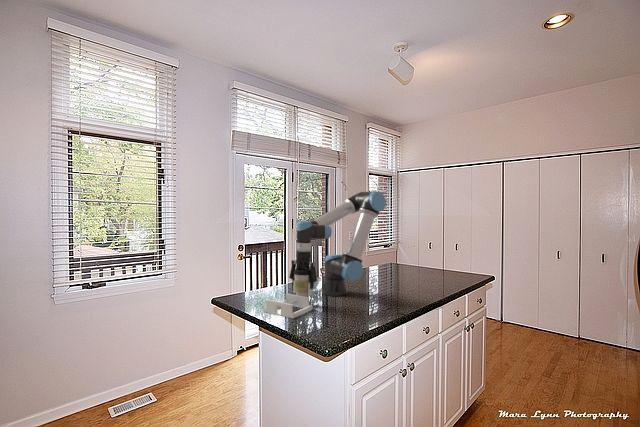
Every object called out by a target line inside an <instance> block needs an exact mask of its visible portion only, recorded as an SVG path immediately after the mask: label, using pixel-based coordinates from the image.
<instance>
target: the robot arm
mask: <svg viewBox="0 0 640 427" xmlns="http://www.w3.org/2000/svg"><path fill="white" fill-rule="evenodd" d="M386 206H387V199H386V197H385V195H384V194H383V192H381V191H378V190H377V191H376V190H372V191H360V192H357V193H356V194H354V195H352V196H350V197H348V198H346V199H345V200H344V202H343V203H341V204H340V205H337V206H336V207H334V208H333V209H330V210H329V211H327V212H325V213H324V214H322V215H320V216H319V217H317V218H315V219H313V220H311V221H309V220H307V221H305V220H299V221H298V222H296V223H297V224H296V253H295V254H296V255H295V257H296V259H294V260H291V267H290V272H289V279H290V280H292V289H293V290H292V292H293V293H294V294H296V289H295V275H294V271H295V269H297V270H301V268H303V269H305V271H309V270H310V269H311V275H309V277H308V279H309V281H310V282H309V283H308V296H312V295H313V289H314V283H316V282H317V281H318V279H317V278H318V276H317V271H316V262H315V261H311V254H312V253H311V252H312V251H311V250H312V240H325V239H330V238H331V236H332V231H333V230H332V228H331V225H333V224H335V223H337V222H338V221H340V220H341V219H344V218H345V217H347V216H348V215H350V214H351V215H353V214H355V213H357V212H359V216H358V220H357V222H356V225H355V227H354V230H353V232H352V236H351V239H350V242H349V244H348V248H347V250H346V252H343V254H332V255H331V254H329V255H326V256H325V260H324V263H325V264H324V266H325V268H324V270H325V271H324V282H323V286H322V288H321V293H322V295H325V296H330V297H343V296H346V295H347V294H348V288H347V285H346V282H345V281H348V282H355V281H357V280H359V279H360V278H361V277H362V275H363V272H364V266H363V264H362V263H363V259H362V254H363V252H364V249H365V247H366V244H367V240H368V238H369V235H370V231H371V229H372V226H373V223H374V221H375V219H376V218H377V217H379V215H380V212H382V211H384V210H385V208H386ZM345 294H346V295H345ZM342 295H343V296H342Z"/></svg>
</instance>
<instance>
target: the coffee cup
mask: <svg viewBox="0 0 640 427" xmlns="http://www.w3.org/2000/svg"><path fill="white" fill-rule="evenodd" d="M294 275H295V289H296V293H295V295H298V296H303V297H309V296H308V283H309V282H310V281H309V279H308V277H309V275H311V268H310V270H309V271H305V269H303V268H301V270H297V269H296V268H295V271H294ZM309 298H310V297H309Z"/></svg>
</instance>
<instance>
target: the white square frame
mask: <svg viewBox="0 0 640 427" xmlns="http://www.w3.org/2000/svg"><path fill="white" fill-rule="evenodd" d="M279 307H281V309H280V316H281V317H285V318H289V319H296V318H298V317H300V316H302V315H304V314H306V313H309V312H310V311H312V310H314V305H312V304H309V306H308V307H306V308H300V309H299V310H297V311H293V310H294V309H293V308H294V306H293V304H288V303H285V300H281V301H278V300H272V299H266V300H265V307H264V308H263V309H264V310H263V312H265V313H267V314H272V315H277V314H278V308H279Z"/></svg>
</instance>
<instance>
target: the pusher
mask: <svg viewBox="0 0 640 427" xmlns="http://www.w3.org/2000/svg"><path fill="white" fill-rule="evenodd" d="M284 298H285V303H288V304H293V308H294V307H295V308H299V309H303V308H306V307H308V306H309V305H310V297H303V296H298V295H296V294H292V293H285V297H284ZM277 310H281V307H278V308H277Z"/></svg>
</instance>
